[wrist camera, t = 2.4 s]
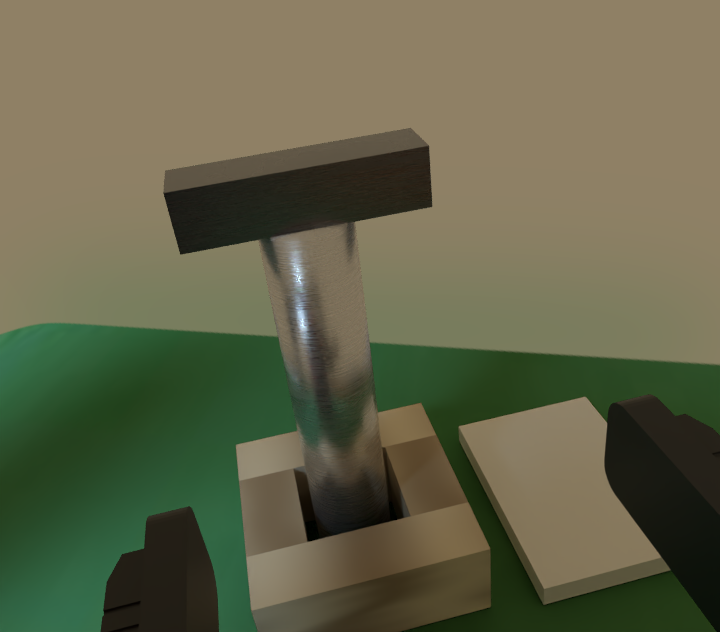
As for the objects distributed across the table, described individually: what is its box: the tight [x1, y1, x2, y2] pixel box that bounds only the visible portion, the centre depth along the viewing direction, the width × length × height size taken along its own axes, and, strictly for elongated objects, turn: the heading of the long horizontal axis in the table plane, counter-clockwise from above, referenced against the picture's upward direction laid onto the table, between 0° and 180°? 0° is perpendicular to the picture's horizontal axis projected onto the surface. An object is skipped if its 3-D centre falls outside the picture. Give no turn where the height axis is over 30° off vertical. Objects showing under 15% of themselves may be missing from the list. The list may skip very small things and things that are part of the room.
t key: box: [164, 128, 432, 539], centre depth 26 cm, size 8×3×18 cm, turn 103°
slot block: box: [236, 403, 491, 632], centre depth 30 cm, size 9×9×4 cm
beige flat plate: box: [459, 397, 671, 605], centre depth 32 cm, size 7×10×1 cm
